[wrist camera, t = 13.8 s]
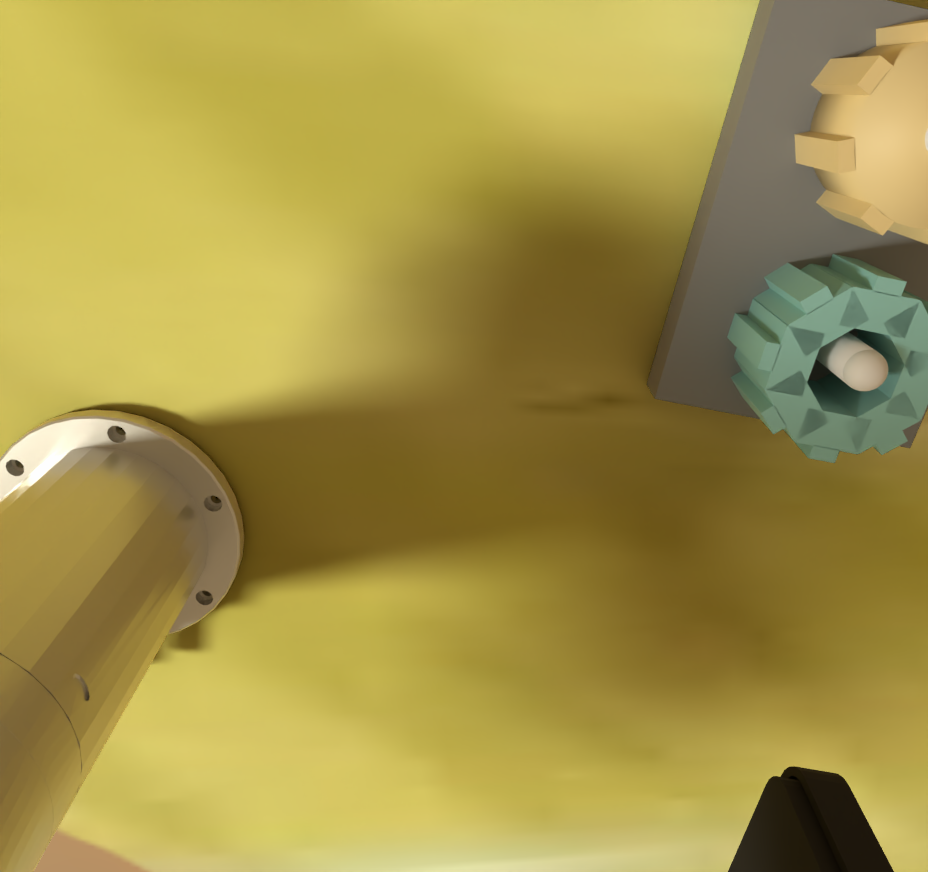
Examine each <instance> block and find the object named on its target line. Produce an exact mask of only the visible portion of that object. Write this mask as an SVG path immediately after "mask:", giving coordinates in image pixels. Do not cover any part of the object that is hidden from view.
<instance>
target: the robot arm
mask: <svg viewBox="0 0 928 872" xmlns="http://www.w3.org/2000/svg"><path fill="white" fill-rule="evenodd" d="M120 427H121V428H123V430H124V431H125V432H124V431H122V430H121V429H120ZM214 496H216V497H218V498H219V499H216V498H215V497H214ZM243 547H244V530H243V520H242V515H241V512H240V509H239V506H238V503H237V500H236V497H235V495H234V493H233V491H232V489H231V487H230V486H229V484H228V482H227V480H226V478H225V476H224V475H223V474H222V473H221V471H220V470H219V469H218V468H217V466H216V465H215V464H214V463H213V461H212V460H211V459H210V458H209V457H208V456H207V455H206V454H205V453H204V452H203V451H201V450H200V449H199V448H198V447H197V446H196V445H195V444H193V443H192V442H191V441H190V440H189V439H187V438H185V437H184V436H182V435H180V434H179V433H177V432H176V431H174V430H172V429H171V428H169V427H167V426H165V425H163V424H160V423H158V422H155V421H153V420H150V419H148V418H146V417H143V416H138V415H134V414H130V413H125V412H121V411H110V410H86V411H79V412H71V413H67V414H64V415H61V416H58V417H55V418H52V419H49V420H47V421H45V422H43V423H42V424H40V425H38V426H37V427H35V428H33V429H32V430H30V431H28V432H27V433H26V434H25V435H23V436H22V437H21V438H20V439H19V440H17V441H16V442H15V443H14V444H12V445H11V446H10V448H9V449H8V450H7V451H6V452H5V453H4V454H3V456H2V457H1V458H0V872H34V870H35V868H36V866H37V865H38V863H39V861H40V859H41V857H42V855H43V853H44V852H45V850H46V848H47V846H48V845H49V843H50V841H51V839H52V837H53V836H54V834H55V832H56V830H57V829H58V827H59V825H60V823H61V822H62V820H63V818H64V816H65V814H66V813H67V811H68V809H69V807H70V806H71V804H72V802H73V800H74V798H75V796H76V795H77V793H78V791H79V789H80V787H81V786H82V784H83V782H84V780H85V779H86V777H87V775H88V773H89V772H90V770H91V768H92V766H93V765H94V763H95V761H96V759H97V758H98V756H99V754H100V752H101V751H102V749H103V747H104V745H105V744H106V742H107V740H108V738H109V737H110V735H111V733H112V731H113V730H114V728H115V726H116V724H117V723H118V721H119V719H120V717H121V715H122V714H123V712H124V710H125V708H126V707H127V705H128V703H129V701H130V700H131V698H132V696H133V694H134V693H135V691H136V689H137V687H138V686H139V684H140V682H141V680H142V679H143V677H144V675H145V673H146V672H147V670H148V668H149V666H150V665H151V663H152V661H153V659H154V658H155V656H156V654H157V652H158V650H159V649H160V647H161V645H162V643H163V642H164V640H165V638H166V636H167V635H168V634H172V633H175V632H179V631H181V630H183V629H185V628H187V627H189V626H191V625H193V624H195V623H197V622H199V621H200V620H201V619H203V618H204V617H205V616H206V615H208V614H209V613H210V612H211V611H213V610H214V609H215V608H216V606H217V605H218V604H219V603H220V602H221V600H222V599H223V598H224V597H225V595H226V594H227V592H228V590H229V589H230V587H231V585H232V583H233V581H234V579H235V577H236V575H237V572H238V569H239V566H240V563H241V560H242V556H243ZM728 872H894V871H893V869H892V867H891V865H890V863H889V862H888V860H887V858H886V856H885V854H884V852H883V850H882V848H881V846H880V844H879V842H878V841H877V839H876V837H875V835H874V833H873V831H872V829H871V827H870V825H869V823H868V821H867V819H866V818H865V816H864V814H863V812H862V810H861V808H860V806H859V804H858V802H857V800H856V798H855V797H854V795H853V793H852V791H851V789H850V787H849V785H848V784H847V782H846V781H845V779H844V778H843V777H842V776H840V775H839V774H836V773H830V772H824V771H818V770H812V769H806V768H800V767H788V768H787V769H786V770H784V772H783V774H782V775H781V777H777V776H773V777H772V778H770V779H769V781H768V782H767V784H766V786H765V788H764V791H763V793H762V795H761V798H760V800H759V802H758V804H757V807H756V809H755V811H754V814H753V816H752V818H751V820H750V823H749V825H748V827H747V830H746V832H745V834H744V836H743V839H742V841H741V843H740V846H739V848H738V850H737V852H736V855H735V857H734V859H733V862H732V864H731V866H730V868H729V871H728Z"/></svg>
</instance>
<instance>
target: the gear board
mask: <svg viewBox="0 0 928 872" xmlns="http://www.w3.org/2000/svg"><path fill="white" fill-rule="evenodd" d="M833 254H836V255H840V256H845V257H850V258H855V259H859V260H861V261H863V262H865V263H868V264H870V265H872V266H874V267H876V268H878V269H880V270H883V271H885V272H887V273H889V274H891V275H893V276H895V277H898V278H900V279H902V280H904V281H906V282H907V283H906V285H905V288H904V290H905V291H907V292H909V293H911V294H913V295H915V296H917V297H919V298H921V299H923V300H925V301H927V302H928V9H924V8H919V7H915V6H911V5H906V4H902V3H897V2H893V1H888V0H760V2H759V5H758V9H757V12H756V16H755V19H754V22H753V26H752V29H751V32H750V36H749V39H748V43H747V46H746V49H745V53H744V56H743V60H742V63H741V66H740V70H739V73H738V76H737V80H736V83H735V87H734V90H733V93H732V97H731V100H730V104H729V107H728V110H727V114H726V117H725V120H724V124H723V127H722V131H721V134H720V137H719V141H718V144H717V148H716V151H715V154H714V158H713V161H712V165H711V168H710V171H709V175H708V178H707V181H706V185H705V188H704V192H703V195H702V198H701V202H700V205H699V209H698V212H697V215H696V219H695V222H694V225H693V229H692V232H691V236H690V239H689V242H688V246H687V249H686V253H685V256H684V259H683V263H682V266H681V269H680V273H679V276H678V280H677V283H676V286H675V290H674V293H673V297H672V300H671V303H670V307H669V310H668V314H667V317H666V320H665V324H664V327H663V330H662V334H661V337H660V341H659V344H658V347H657V351H656V354H655V358H654V361H653V364H652V368H651V371H650V374H649V378H648V381H647V386H648V387H649V389H650V391H651V393H652V395H653V397H654V398H655V399H659V400H664V401H669V402H674V403H679V404H684V405H690V406H695V407H700V408H705V409H710V410H715V411H721V412H726V413H731V414H736V415H741V416H746V417H752V418H757V419H760V418H759V417H758V415H757V414H756V413H755V412H754V411H753V409H752V408H751V407H750V406H749V405H748V403H747V402H746V401H745V400H744V399H743V397H742V396H741V394H740V392H739V391H738V389H737V387H736V386H735V384H734V382H733V380H732V379H731V377H732V376H734V375H735V374H737V373H739V372H741V371H742V370H741V368H740V367H739V365H738V363H737V361H736V360H735V358H734V354H735V351H736V348H737V347H736V346H735V345H734V344H733V343H732V342H731V341H730V340H729V339H728V338H727V336H728V333H729V330H730V327H731V324H732V321H733V318H734V315H735V313H737V314H742V315H748V312H749V309H750V306H751V303H752V300H753V299H754V297H756V296H757V295H759V294H761V293H762V292H764V291H766V290H767V289H769V286H768V284H767V282H766V280H765V278H764V277H765V276H767V275H768V274H770V273H772V272H773V271H775V270H777V269H778V268H780V267H782V266H783V265H785V264H786V263H789V264H791V265H792V266H794V267H796V268H798V269H799V270H800V269H802V268H804V267H805V266H807V265H809V264H816V265H821V266H826V267H828V266H829V264H830V261H831V258H832V255H833ZM857 335H858V333H857V331H856V329H855V328H854V329H852V330H850V331H849V332H847V333H845V334H844V335H842V336H840V337H838V338H837V339H835V340H833V341H831V342H830V343H828V344H826V345H825V346H823V347H821V348H820V349H819V352H818V354H817V357H816V360H815V363H814V365H813V368H812V371H811V373H810V376H809V379H808V380H812V381H818V380H819V379H821V378H823V377H825V376H826V375H828V374H830V373H834V374H835V375H836V376H837V377H839V378H840V379H841V380H842V381H843V382H845V383H846V384H847V385H848V386H849V387H851V388H853V389H855V390H858V391H871V390H874V389H876V388H878V387H879V386H880V385H882V384H883V382H884V381H885V380H886V378H887V375H888V364H887V361H886V360H885V358H884V357H883V356H882V355H881V354H880V353H879V352H877V351H876V350H874V349H873V348H871V347H870V346H868V345H867V344H865V343H864V342H862V341H861V340H859V339H858V338H856V337H857ZM927 408H928V405H927ZM927 408H926V410H927ZM926 410H925V412H924V415H925V413H926ZM924 415H923V417H924ZM923 417H922V419H921V420H920V421H919V422H917V423H915V424H913V425H912V426H910V427H908V428H906V429H904V430H902V431H903V433H904V435H905V437H906V438H907V440H908V441H907V442H905V443H903V444H902V445H900V446H901V447H907V448H910V447H911V445H912V443H913V440H914V438H915V436H916V433H917V431H918V429H919V427H920V424H921V422H922V420H923Z"/></svg>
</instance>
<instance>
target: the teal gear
mask: <svg viewBox="0 0 928 872" xmlns="http://www.w3.org/2000/svg"><path fill="white" fill-rule="evenodd" d="M764 278H765V280H766V282H767V284H768V286H769V289H767V290H766V291H764V292H762V293H761V294H759V295H757V296H756V297H754V299H753V300H752V303H751V306H750V309H749V312H748V315H742V314H737V313H735V315H734V318H733V321H732V324H731V327H730V330H729V333H728V336H727V338H728V339H729V340H730V341H731V342H732V343H733V344H734V345H735V346H736V347H737V348H736V351H735V354H734V358H735V360H736V361H737V363H738V365H739V367H740V368H741V370H742V371H741V372H739V373H737V374H735V375H734V376H732V377H731V379H732V380H733V382H734V384H735V386H736V387H737V389H738V391H739V392H740V394H741V396H742V397H743V399H744V400H745V401H746V402H747V403H748V405H749V406H750V407H751V408H752V409H753V411H754V412H755V413H756V414H757V415H758V417H759V418H760V419H761V420H762V421H763V423H764V424H765V425H766V426H767V427H768V429H769V430H770V431H771V432H772V433H773V434H775V433H777V432H779V431H780V430H782V429H783V430H784V431H785V432H786V433H787V434H788V435H789V436H790V438H791V439H792V440H793V441H794V442H795V443H796V444H797V446H798V447H799V448H800V449H801V450H802V451H803V452H804V454H805V455H806V456H807V457H808V458H810V459H815V460H820V461H826V462H831V463H835V461H836V459H837V456H838V454H839V451H843V452H848V453H853V454H860V453H862V452H863V451H865V450H867V449H869V448H871V447H874V448H875V449H876V450H877V451H878V452H879V453H880V454H881V455H883V454H885V453H887V452H889V451H890V450H892V449H894V448H896V447H898V446H900V445H902V444H903V443H905V442H907V441H908V440H907V438H906V437H905V435H904V433H903V431H902V430H904V429H906V428H908V427H910V426H912V425H913V424H915V423H917V422H919V421H920V420H921V419H922V417H923V415H924V412H925V410H926V408H927V405H928V302H927V301H925V300H923V299H921V298H919V297H917V296H915V295H913V294H911V293H909V292H907V291H905V290H904V288H905V285H906V283H907V282H906V281H904V280H902V279H900V278H898V277H895V276H893V275H891V274H889V273H887V272H885V271H883V270H880V269H878V268H876V267H874V266H872V265H870V264H868V263H865V262H863V261H861V260H859V259H855V258H850V257H845V256H840V255H836V254H833V255H832V258H831V261H830V264H829V266H828V267H826V266H821V265H816V264H809V265H807V266H805V267H804V268H802V269H800V270H799V269H798V268H796V267H794V266H792V265H791V264H789V263H786V264H785V265H783V266H782V267H780V268H778V269H777V270H775V271H773V272H772V273H770V274H768V275H767V276H765V277H764ZM854 328H855V329H856V331H857V333H858V335H857V337H856V338H858V339H859V340H861V341H862V342H864V343H865V344H867V345H868V346H870V347H871V348H873V349H874V350H876V351H877V352H879V353H880V354H881V355H882V356H883V357H884V358H885V360H886V361H887V364H888V375H887V378H886V380H885V381H884V382H883V384H882V385H880V386H879V387H878V388H876V389H874V390H871V391H858V390H855V389H853V388H851V387H849V386H848V385H847V384H846V383H845V382H843V381H842V380H841V379H840V378H839V377H837V376H836V375H835V374H834V373H830V374H828V375H826V376H825V377H823V378H821V379H819V380H818V381H812V380H808V379H809V376H810V373H811V371H812V368H813V365H814V363H815V360H816V357H817V354H818V352H819V349H820V348H821V347H823V346H825V345H826V344H828V343H830V342H831V341H833V340H835V339H837V338H838V337H840V336H842V335H844V334H845V333H847V332H849V331H850V330H852V329H854Z"/></svg>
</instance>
